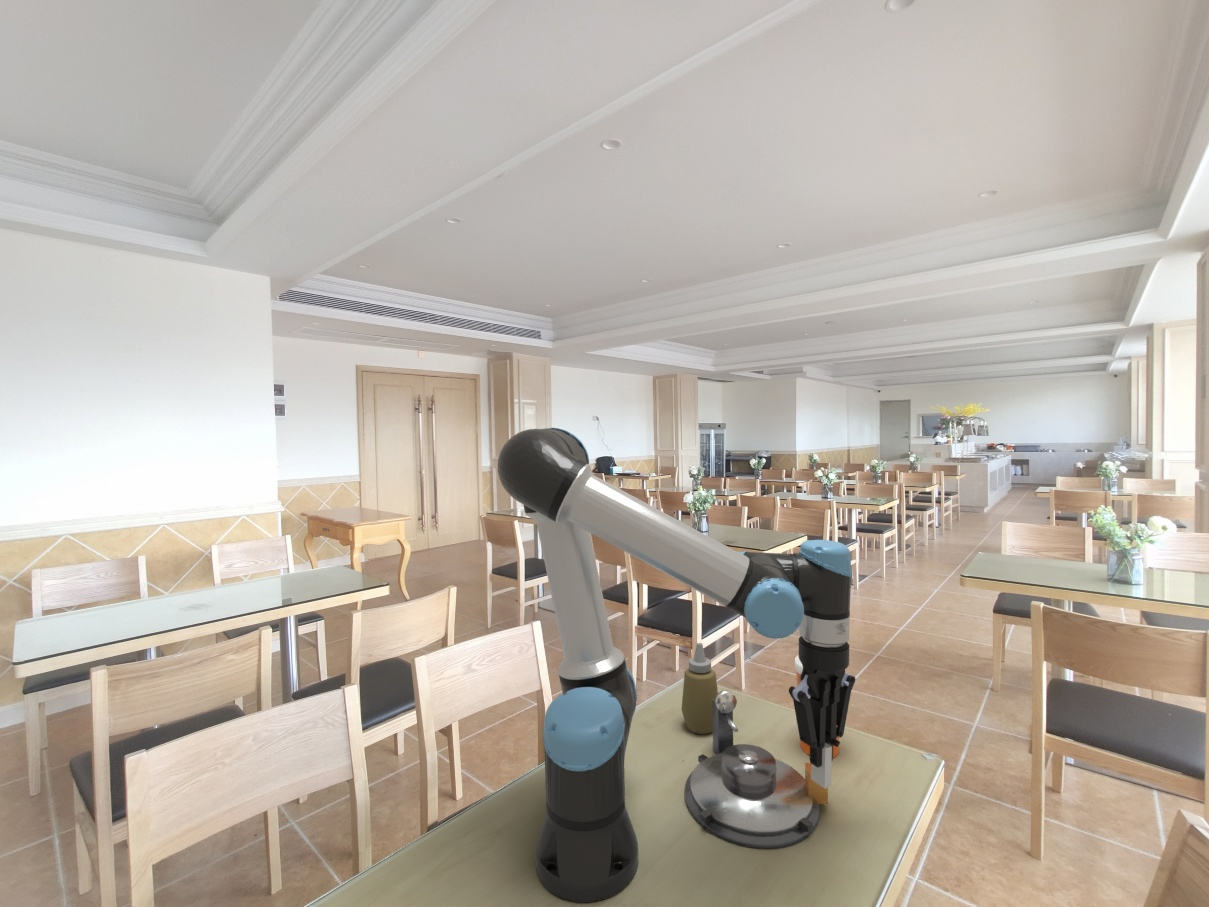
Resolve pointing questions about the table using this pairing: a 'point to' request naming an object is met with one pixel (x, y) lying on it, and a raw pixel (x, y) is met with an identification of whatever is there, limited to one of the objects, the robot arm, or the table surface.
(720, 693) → the indicator post
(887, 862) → the table surface
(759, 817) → the platter
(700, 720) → the squeeze bottle
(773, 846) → the turntable base
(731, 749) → the cover
